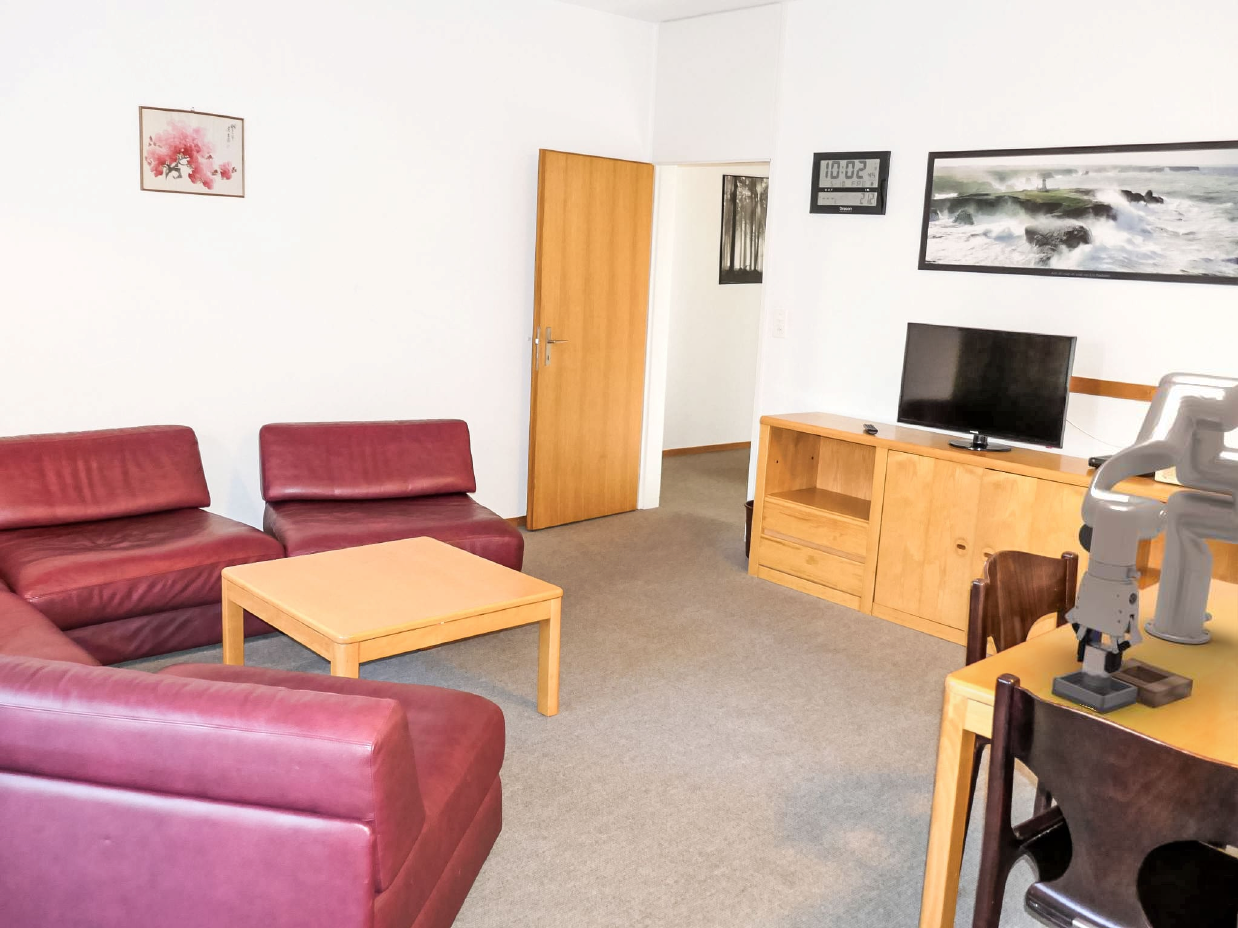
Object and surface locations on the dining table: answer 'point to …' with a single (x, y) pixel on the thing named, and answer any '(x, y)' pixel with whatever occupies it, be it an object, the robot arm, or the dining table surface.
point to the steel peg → (1096, 668)
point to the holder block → (1153, 682)
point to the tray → (1102, 703)
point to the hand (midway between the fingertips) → (1097, 665)
